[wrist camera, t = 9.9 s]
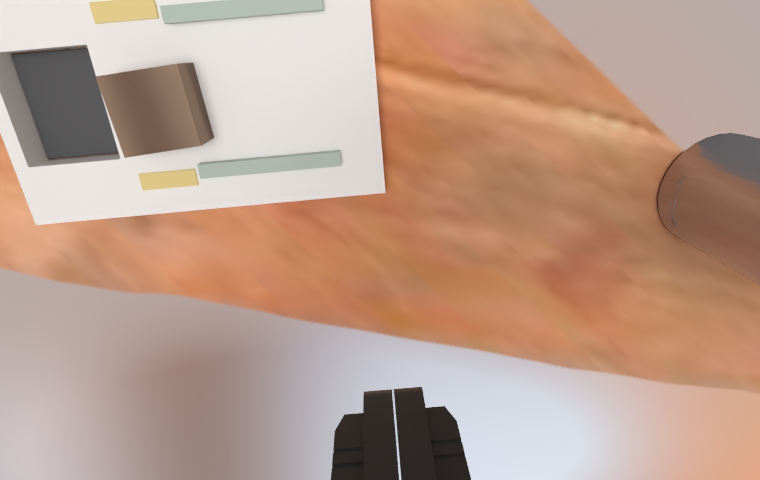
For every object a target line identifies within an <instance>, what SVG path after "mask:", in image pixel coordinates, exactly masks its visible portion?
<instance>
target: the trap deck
mask: <svg viewBox="0 0 760 480" xmlns="http://www.w3.org/2000/svg"><path fill="white" fill-rule="evenodd" d="M77 47H87V48H82V49H70V50H59V51H48V52H36V53H25V54H14V55H13V54H12V53H21V52H32V51H44V50H55V49H66V48H77ZM178 63H193V64H194V67H195V71H196V74H197V78H198V81H199V85H200V89H201V92H202V96H203V99H204V103H205V106H206V110H207V114H208V117H209V121H210V124H211V128H212V131H213V135H214V138H213V139H212V140H210V141H208V142H207V143H205V144H203V145H202V146H197V147H191V148H185V149H178V150H172V151H165V152H159V153H153V154H146V155H140V156H133V157H127V158H124V155H123V152H122V149H121V146H120V144H119V141H118V138H117V135H116V132H115V130H114V127H113V124H112V121H111V119H110V116H109V113H108V110H107V107H106V105H105V102H104V99H103V96H102V94H101V91H100V88H99V85H98V82H97V80H96V76H102V75H108V74H114V73H121V72H127V71H133V70H140V69H146V68H152V67H159V66H165V65H171V64H178ZM0 133H1V136H2V138H3V141H4V144H5V146H6V149H7V151H8V154H9V156H10V159H11V162H12V164H13V167H14V169H15V172H16V175H17V177H18V180H19V182H20V185H21V187H22V190H23V193H24V195H25V198H26V200H27V203H28V205H29V208H30V211H31V213H32V216H33V218H34V221H35V224H36V225H41V224H52V223H63V222H74V221H84V220H95V219H106V218H117V217H128V216H139V215H150V214H161V213H171V212H182V211H193V210H204V209H215V208H226V207H237V206H248V205H258V204H269V203H280V202H291V201H302V200H313V199H324V198H335V197H345V196H356V195H367V194H378V193H385V181H384V169H383V156H382V144H381V131H380V119H379V107H378V94H377V82H376V70H375V57H374V45H373V32H372V20H371V8H370V0H0ZM112 153H119V154H112ZM101 154H108V155H101ZM89 155H97V156H89ZM78 156H86V157H78ZM67 157H75V158H67ZM56 158H64V159H56ZM50 159H53V160H50Z"/></svg>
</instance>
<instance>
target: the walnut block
mask: <svg viewBox="0 0 760 480" xmlns="http://www.w3.org/2000/svg"><path fill="white" fill-rule="evenodd" d="M96 80H97V82H98V85H99V88H100V91H101V94H102V96H103V99H104V102H105V105H106V107H107V110H108V113H109V116H110V119H111V121H112V124H113V127H114V130H115V132H116V135H117V138H118V141H119V144H120V146H121V149H122V152H123V155H124V158H127V157H133V156H140V155H146V154H153V153H159V152H165V151H172V150H178V149H185V148H191V147H197V146H202V145H203V144H205V143H207V142H208V141H210V140H212V139H213V138H214V135H213V131H212V128H211V124H210V121H209V117H208V114H207V110H206V106H205V103H204V99H203V96H202V92H201V89H200V85H199V81H198V78H197V74H196V71H195V67H194V64H193V63H178V64H171V65H165V66H159V67H152V68H146V69H140V70H133V71H127V72H121V73H114V74H108V75H102V76H96Z"/></svg>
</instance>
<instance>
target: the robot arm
mask: <svg viewBox="0 0 760 480" xmlns="http://www.w3.org/2000/svg"><path fill="white" fill-rule="evenodd" d="M658 210H659V215H660V218H661V220H662V222H663V224H664V225H665V227H666V228H667V229H668V230H669V231H670V232H671V233H672V234H674V235H676V236H677V237H679V238H680V239H682V240H684V241H686V242H687V243H689V244H691V245H692V246H694V247H696V248H697V249H699V250H701V251H703V252H704V253H706V254H707V255H709V256H711V257H712V258H714V259H716V260H718V261H719V262H721V263H723V264H725V265H726V266H728V267H730V268H731V269H733V270H735V271H737V272H738V273H740V274H742V275H743V276H745V277H747V278H749V279H750V280H752V281H754V282H755V283H757V284H759V285H760V139H759V138H754V137H750V136H745V135H740V134H732V133H728V134H718V135H715V136H711V137H708V138H705V139H703V140H701V141H699V142H697V143H695V144H694V145H692V146H691V147H690V148H688V149H687V150H685V151H684V152H683V153H682V154H681V155H680V156H679V157H678V158H677V159H676V160H675V161H674V162H673V164H672V165H671V167H670V168H669V169H668V171H667V172H666V174H665V177H664V179H663V181H662V183H661V186H660V190H659V194H658ZM394 395H395V406H396V419H397V431H398V443H399V455H400V467H401V479H402V480H471V478H470V474H469V470H468V466H467V462H466V457H465V454H464V450H463V445H462V442H461V437H460V433H459V429H458V425H457V421H456V420H455V419H454V417H453V416H452V415H451V414H450V413H449V412H448V410H447V409H446V408H445V406H444V407H431V408H425V403H424V397H423V391H422V387H415V388H403V389H394ZM395 437H396V436H395V424H394V413H393V401H392V390H380V391H369V392H364V413H359V414H347V415H344V417H343V418H342V420H341V422H340V423H339V425H338V427H337V428H336V430H335V438H334V453H333V463H332V467H333V468H332V474H331V480H399V474H398V461H397V449H396V438H395Z"/></svg>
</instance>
